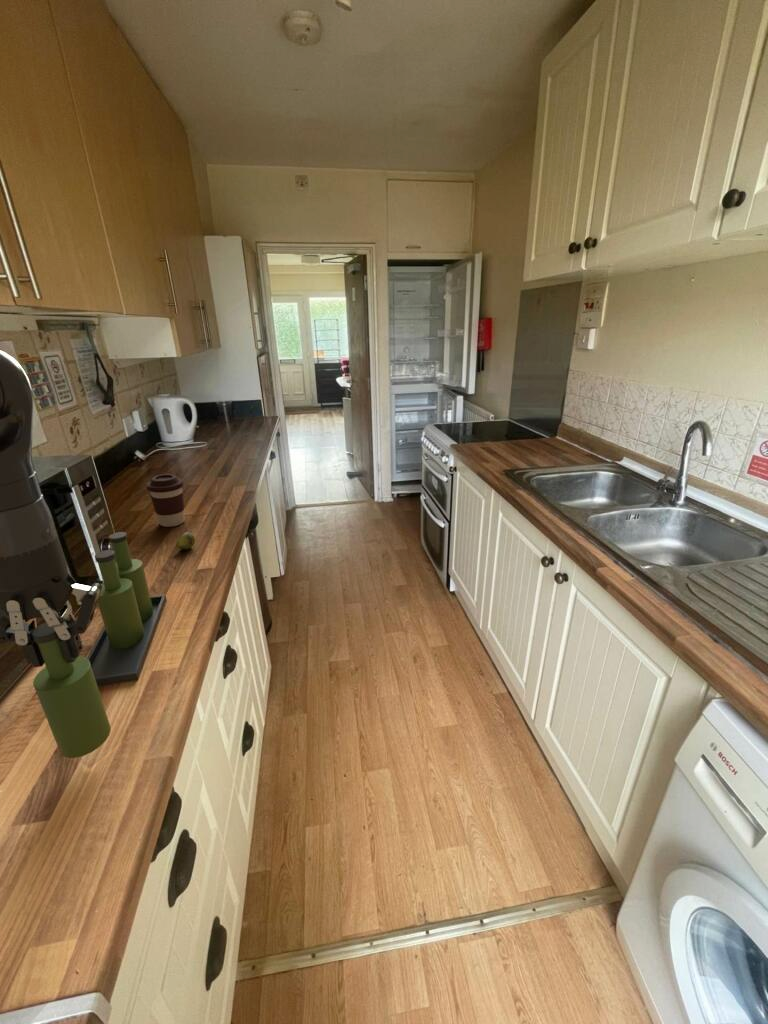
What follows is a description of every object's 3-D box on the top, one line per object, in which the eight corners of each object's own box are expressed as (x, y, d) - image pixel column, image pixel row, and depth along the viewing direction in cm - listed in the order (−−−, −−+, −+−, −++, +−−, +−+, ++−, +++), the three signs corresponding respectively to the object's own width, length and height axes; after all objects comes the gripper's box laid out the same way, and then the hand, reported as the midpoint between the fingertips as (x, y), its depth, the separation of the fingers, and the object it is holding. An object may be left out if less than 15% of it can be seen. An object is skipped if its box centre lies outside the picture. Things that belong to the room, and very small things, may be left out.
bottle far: (115, 618, 89) (92, 538, 82) (141, 603, 94) (121, 526, 87) (134, 627, 87) (112, 545, 79) (159, 611, 92) (141, 532, 84)
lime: (177, 553, 116) (174, 537, 114) (181, 545, 121) (178, 529, 119) (194, 552, 117) (191, 536, 115) (198, 544, 122) (195, 528, 120)
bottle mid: (102, 643, 83) (76, 557, 75) (131, 625, 88) (109, 543, 80) (123, 652, 80) (98, 565, 73) (151, 634, 85) (131, 550, 78)
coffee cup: (173, 531, 129) (164, 484, 123) (147, 526, 131) (137, 480, 125) (196, 518, 137) (189, 474, 131) (171, 514, 140) (163, 470, 134)
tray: (138, 682, 75) (136, 673, 74) (76, 692, 72) (73, 682, 71) (167, 602, 96) (165, 594, 95) (119, 608, 94) (117, 600, 93)
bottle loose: (49, 746, 58) (4, 635, 51) (93, 714, 63) (58, 608, 56) (76, 765, 56) (33, 651, 48) (120, 730, 61) (87, 622, 53)
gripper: (98, 520, 52) (127, 633, 59) (-40, 529, 49) (8, 648, 56) (73, 549, 46) (110, 672, 52) (-89, 562, 42) (-27, 692, 49)
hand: (57, 659), depth 54 cm, fingers closed on bottle loose, 3 cm apart
